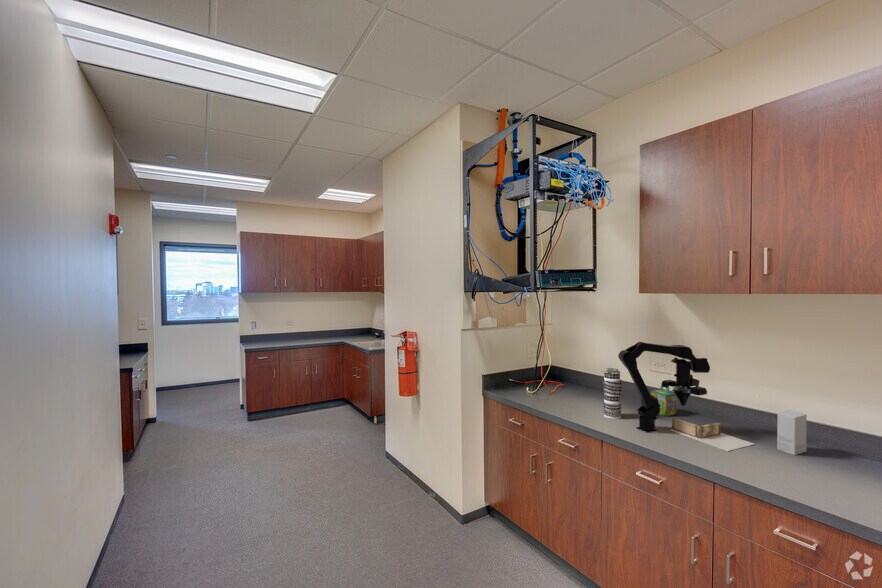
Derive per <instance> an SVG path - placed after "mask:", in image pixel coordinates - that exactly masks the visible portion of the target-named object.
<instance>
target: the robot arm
mask: <svg viewBox="0 0 882 588" xmlns="http://www.w3.org/2000/svg"><path fill="white" fill-rule="evenodd" d="M644 352H651V353H657V354H667V355H671V356H674V358H673V359H671V360H670V361H671V362H672V363H673V364H675V370H676V371H675V372H676V373H674V375H673V376H674V377H675V378H676V379H675V380H671V379H665V380H662V381H661V385H662V387H664V388H665V387H666V388H667V387H669V388H670V387H672V388H673V389H672V391H671V392H675V394H676V395H677V400H678V401H679V403H680V405H681V406H683V407H685V406H686V404H687V403H688V399H689V398H690V396H691V395H695V396H698V397H699V396H705V395H708V390H707V388H706V387H703V386H700V381H701V380H699V379H696V378H694V376H693V374H691V371H692V372H693V373H700V374H701V373H702V374H703V373H705V374H709V373H710V371H711V366H710V363H709V361H708V358H706V357H701V358H700V357H696V356H695V354H693V350H692V349H691V347H689V346H686V345H682V344H672V345H665V344H664V345H663V344H658V343H649V342H643V341H637V342H636V343H635V344H633V345H631V346H630V347H628V348H626V349H623V350H620V352H619V353H618V355H617V357H618V359H619V361H620V362H621V363H622V365H623V367H625V368H626V369H627V372H628V373H629V376H630V377H631V379H632V382H633V383H634V387H636V389H637V392H638V393H639V396H640V403H641V406H639V407H638V408H637V410H636V411H637V413H638V415H640V416H638V419H639V420H638V421H639V422H638V423H639V424H638V425H639V426H637V427H636V429H637V430H641V431H643V432H644V433H653V432H656V431H657V432H658V429H657V428H656V420H657V417H658V415H660V414H659V413H660V411H661V409H660V407H661V406H660V405H659V403H658V400H657V398H656V397H654V396H653V395H651V392H650V391H649V389H648V386H647V385H646V383H645V381H644V379H643V377H642V375H641V372H640V371H639V368H638V361H637V359H638V358H639V357H640V356H642V354H643V353H644ZM666 388H665V389H666Z"/></svg>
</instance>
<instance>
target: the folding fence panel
mask: <svg viewBox="0 0 882 588" xmlns="http://www.w3.org/2000/svg"><path fill="white" fill-rule="evenodd" d="M721 425H722V423H721V422H712V423H708V424H701V426H702V437H706V436H712V435H717V434H721V433H722V431H721V427H722V426H721Z"/></svg>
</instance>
